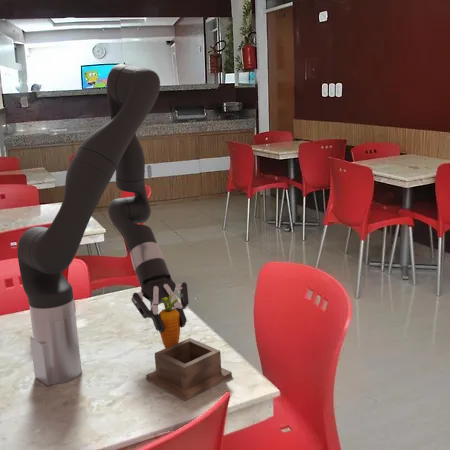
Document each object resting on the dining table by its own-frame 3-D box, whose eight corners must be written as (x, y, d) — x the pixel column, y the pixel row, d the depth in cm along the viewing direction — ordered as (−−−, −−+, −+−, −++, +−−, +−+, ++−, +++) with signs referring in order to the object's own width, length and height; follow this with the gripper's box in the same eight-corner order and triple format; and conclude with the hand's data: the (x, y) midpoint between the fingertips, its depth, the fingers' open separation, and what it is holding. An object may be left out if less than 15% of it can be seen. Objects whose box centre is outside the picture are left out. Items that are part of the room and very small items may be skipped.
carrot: (171, 349, 131) (167, 290, 128) (186, 354, 128) (182, 294, 125) (156, 357, 127) (151, 296, 124) (171, 362, 124) (167, 300, 121)
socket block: (185, 400, 108) (183, 373, 107) (146, 379, 118) (144, 353, 116) (231, 376, 117) (230, 350, 116) (192, 358, 126) (190, 333, 125)
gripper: (123, 262, 126) (146, 329, 118) (180, 252, 133) (205, 314, 125) (118, 278, 132) (140, 343, 124) (173, 267, 138) (196, 328, 131)
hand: (172, 328), depth 124 cm, fingers closed on carrot, 4 cm apart
